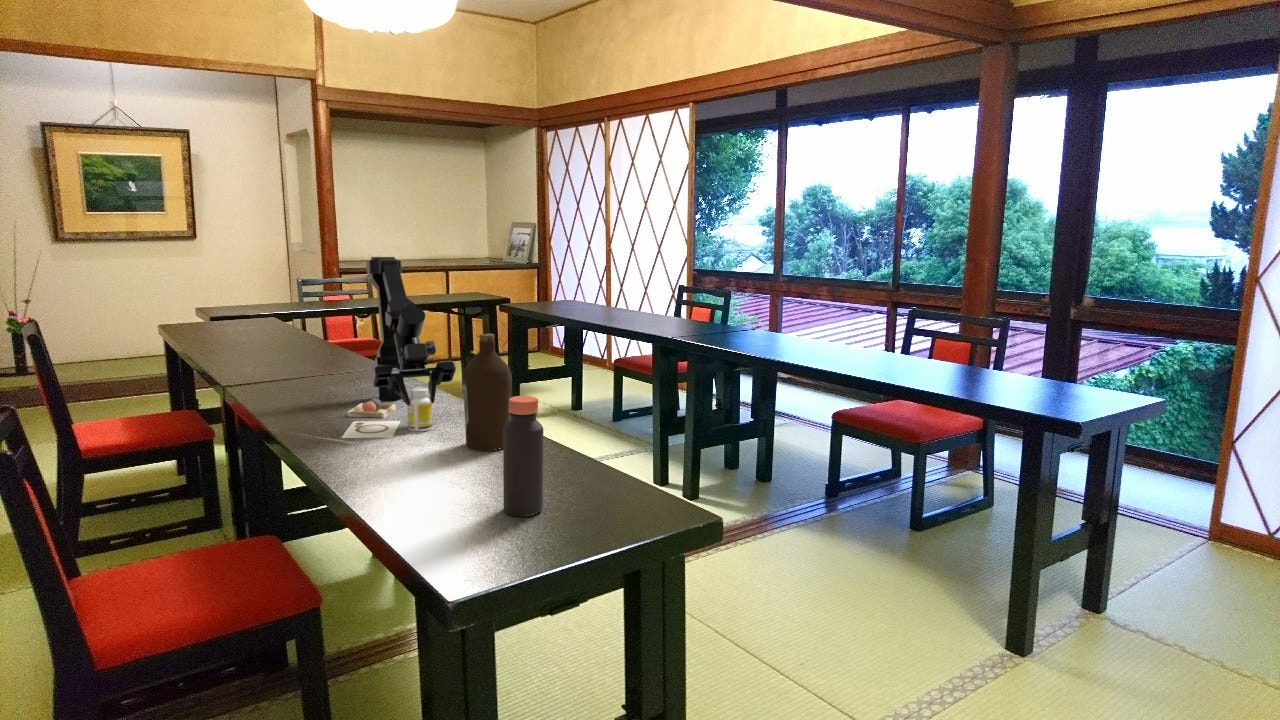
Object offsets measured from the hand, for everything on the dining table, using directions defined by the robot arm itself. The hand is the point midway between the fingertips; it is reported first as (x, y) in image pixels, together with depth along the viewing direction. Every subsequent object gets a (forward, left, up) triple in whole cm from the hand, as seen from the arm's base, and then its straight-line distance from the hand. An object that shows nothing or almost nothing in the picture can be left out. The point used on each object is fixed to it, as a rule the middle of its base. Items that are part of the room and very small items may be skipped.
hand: (420, 403), depth 176 cm
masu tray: (-7, -20, -7) cm, 22 cm away
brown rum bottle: (+3, +20, -7) cm, 21 cm away
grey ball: (-9, -21, -6) cm, 23 cm away
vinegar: (+33, +46, -7) cm, 57 cm away
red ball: (-5, -19, -6) cm, 21 cm away
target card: (+5, -10, -7) cm, 13 cm away
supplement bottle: (-1, -1, -7) cm, 7 cm away
